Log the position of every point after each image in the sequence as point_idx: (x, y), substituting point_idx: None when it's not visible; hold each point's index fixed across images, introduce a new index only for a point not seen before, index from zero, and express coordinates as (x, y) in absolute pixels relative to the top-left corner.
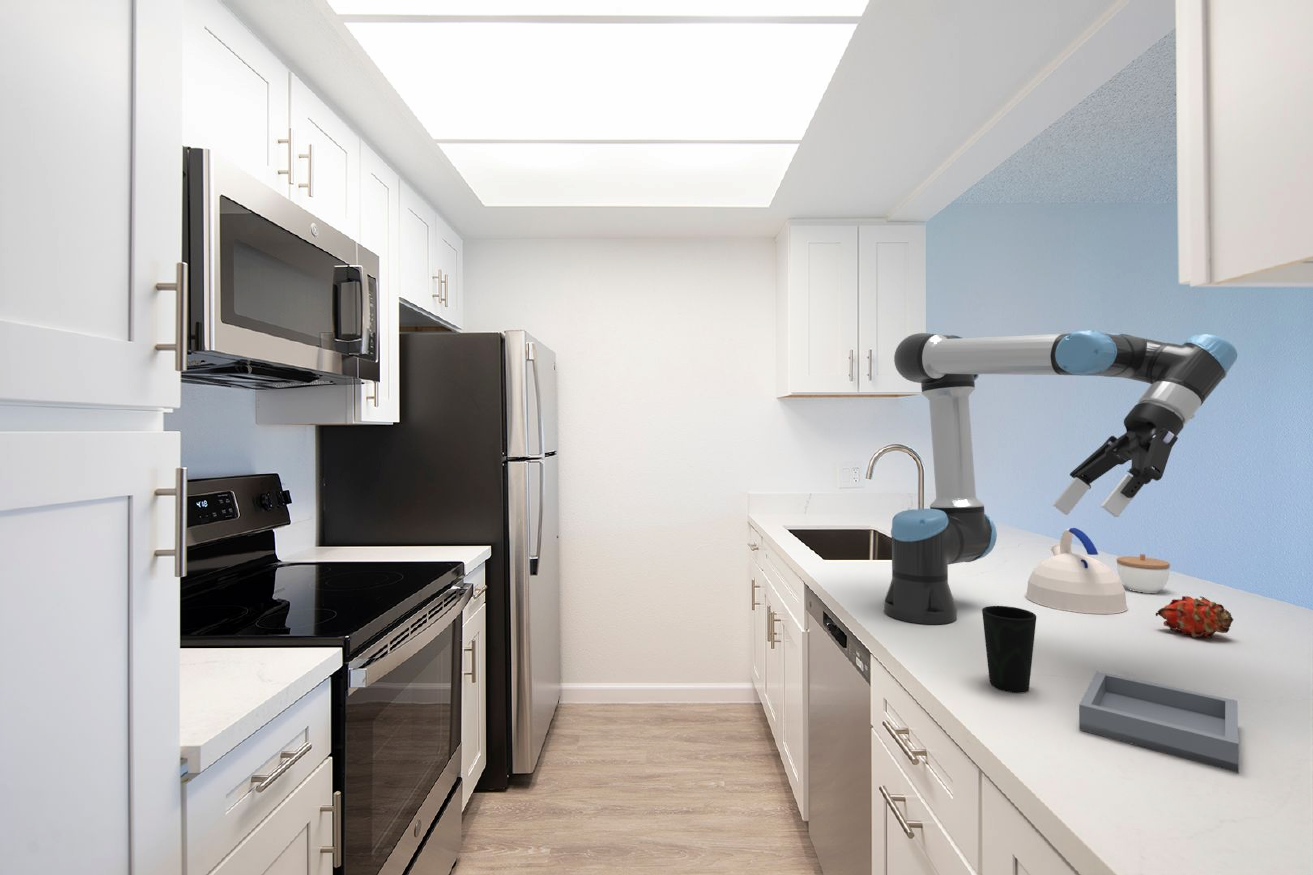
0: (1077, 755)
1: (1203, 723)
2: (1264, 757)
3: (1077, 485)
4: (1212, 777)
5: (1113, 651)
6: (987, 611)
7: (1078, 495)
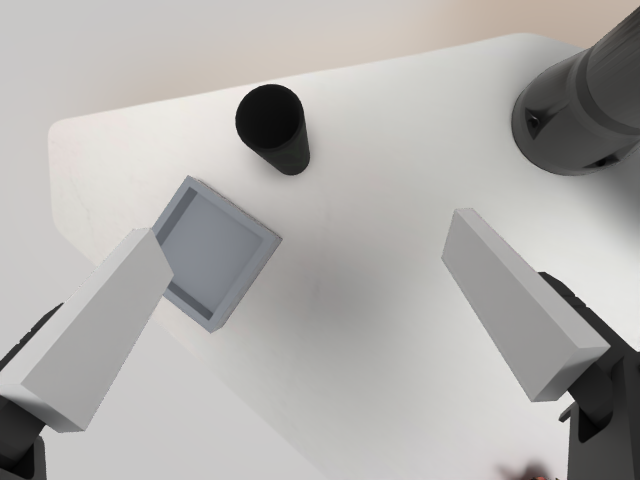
0: (159, 159)
1: (205, 289)
2: (168, 304)
3: (530, 329)
4: None
5: (425, 334)
6: (292, 98)
7: (490, 317)
